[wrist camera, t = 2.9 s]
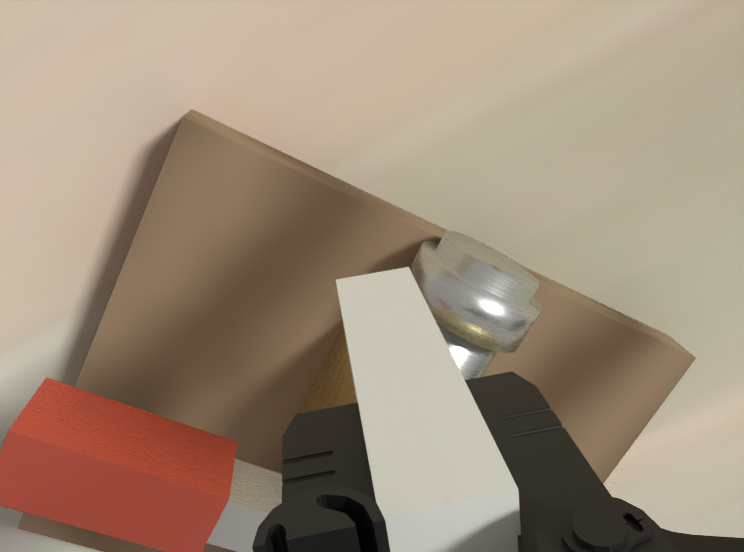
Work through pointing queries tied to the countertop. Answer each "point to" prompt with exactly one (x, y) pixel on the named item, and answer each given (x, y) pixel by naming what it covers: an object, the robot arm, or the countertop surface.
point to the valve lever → (131, 474)
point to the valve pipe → (451, 313)
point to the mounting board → (314, 311)
